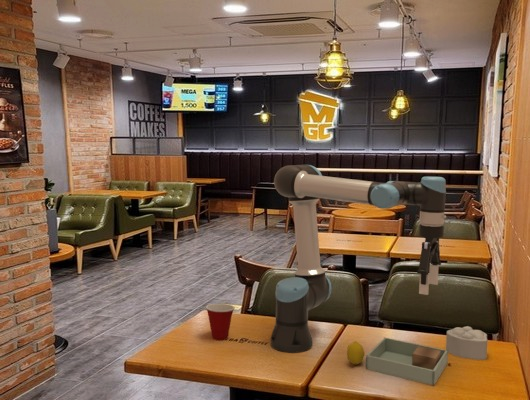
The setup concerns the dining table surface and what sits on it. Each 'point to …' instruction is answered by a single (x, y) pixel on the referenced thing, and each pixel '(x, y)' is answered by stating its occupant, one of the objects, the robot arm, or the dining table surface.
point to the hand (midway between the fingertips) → (428, 289)
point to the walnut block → (425, 357)
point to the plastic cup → (220, 320)
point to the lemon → (355, 353)
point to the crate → (403, 361)
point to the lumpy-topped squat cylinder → (467, 343)
